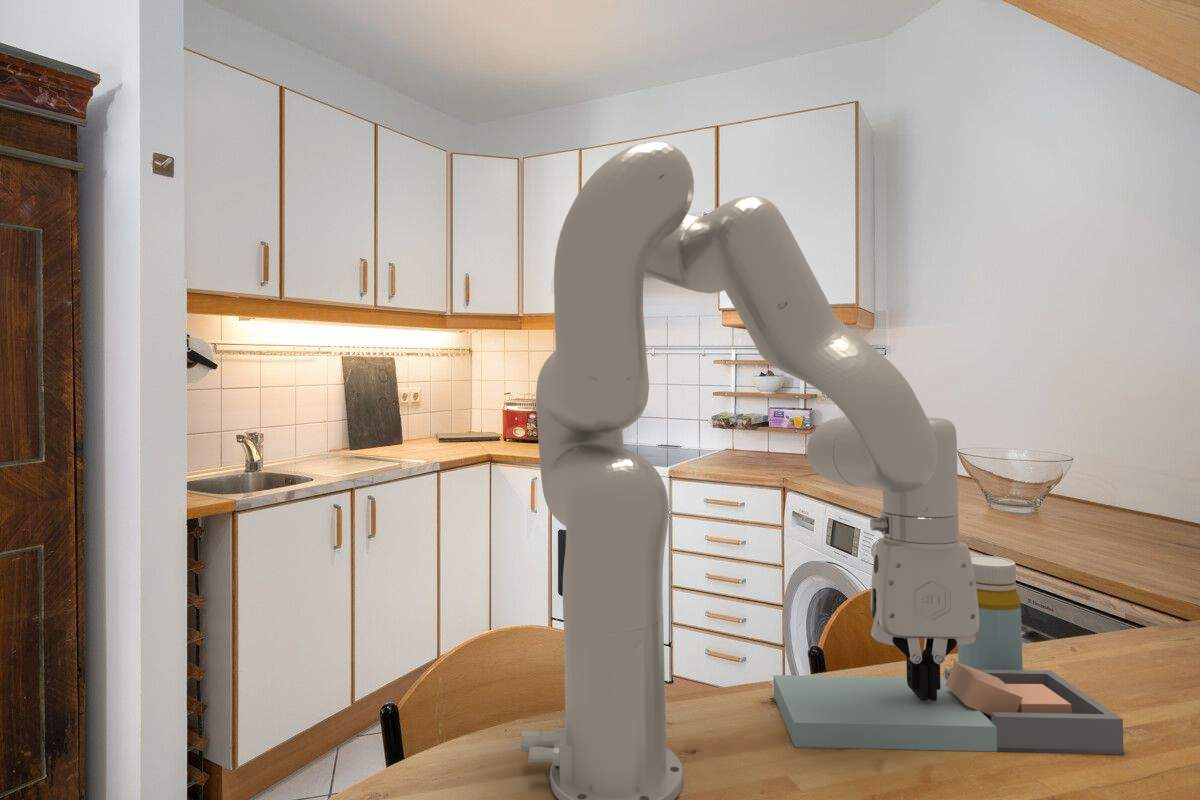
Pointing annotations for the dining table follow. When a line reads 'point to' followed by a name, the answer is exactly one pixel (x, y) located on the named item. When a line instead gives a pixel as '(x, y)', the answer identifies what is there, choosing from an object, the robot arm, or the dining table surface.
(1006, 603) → the bottle
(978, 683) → the tile
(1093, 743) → the tray
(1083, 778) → the dining table surface
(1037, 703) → the tile
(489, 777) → the dining table surface
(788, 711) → the pale green lid panel
